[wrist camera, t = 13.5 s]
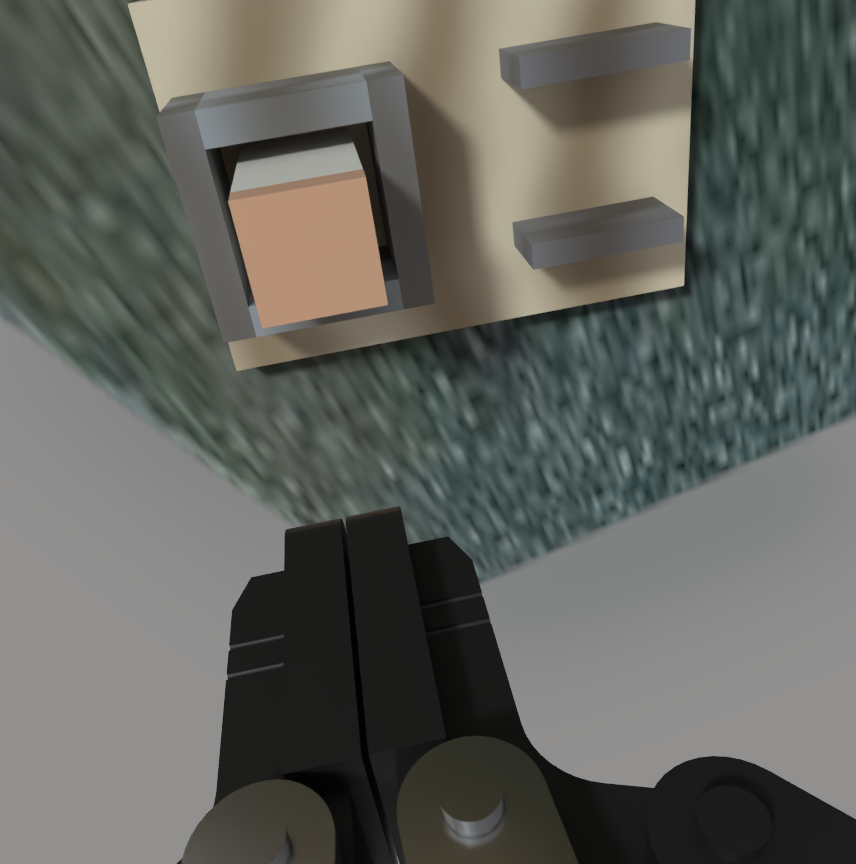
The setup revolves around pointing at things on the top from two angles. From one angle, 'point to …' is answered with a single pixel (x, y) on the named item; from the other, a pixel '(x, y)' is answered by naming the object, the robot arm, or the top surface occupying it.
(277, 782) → the robot arm
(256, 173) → the plug
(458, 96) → the panel
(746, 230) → the top surface
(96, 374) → the top surface
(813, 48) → the top surface
